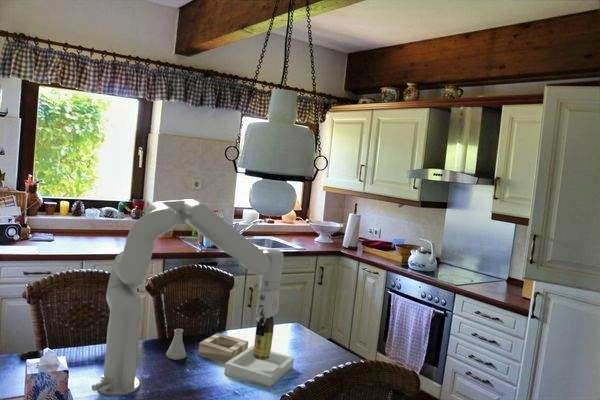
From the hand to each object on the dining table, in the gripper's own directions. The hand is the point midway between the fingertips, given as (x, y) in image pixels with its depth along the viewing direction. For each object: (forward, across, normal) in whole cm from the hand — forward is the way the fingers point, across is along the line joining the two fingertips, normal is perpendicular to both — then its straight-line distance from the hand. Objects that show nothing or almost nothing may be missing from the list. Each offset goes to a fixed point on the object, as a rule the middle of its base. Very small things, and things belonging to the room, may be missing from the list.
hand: (264, 332), depth 180 cm
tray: (+15, 0, 0) cm, 15 cm away
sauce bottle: (+10, 0, 0) cm, 10 cm away
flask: (+15, -8, +31) cm, 35 cm away
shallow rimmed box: (+15, +4, +18) cm, 24 cm away
